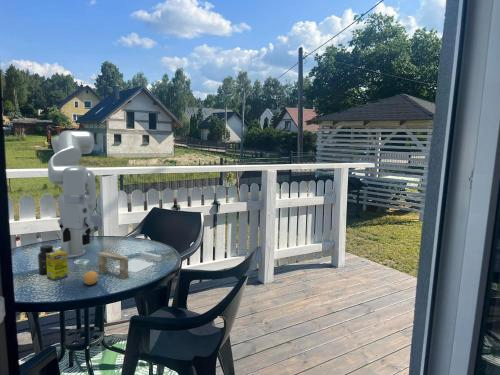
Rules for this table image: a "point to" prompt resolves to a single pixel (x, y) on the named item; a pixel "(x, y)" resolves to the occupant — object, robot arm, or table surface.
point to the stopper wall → (151, 256)
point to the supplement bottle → (43, 258)
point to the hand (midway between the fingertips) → (76, 242)
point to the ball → (90, 277)
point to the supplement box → (56, 265)
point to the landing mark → (137, 265)
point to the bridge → (122, 259)
